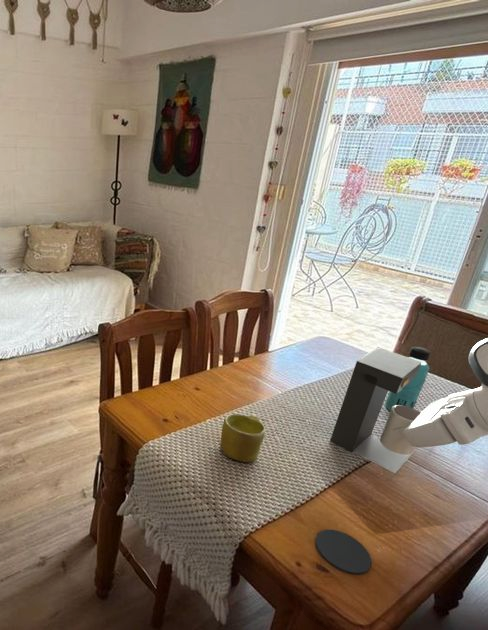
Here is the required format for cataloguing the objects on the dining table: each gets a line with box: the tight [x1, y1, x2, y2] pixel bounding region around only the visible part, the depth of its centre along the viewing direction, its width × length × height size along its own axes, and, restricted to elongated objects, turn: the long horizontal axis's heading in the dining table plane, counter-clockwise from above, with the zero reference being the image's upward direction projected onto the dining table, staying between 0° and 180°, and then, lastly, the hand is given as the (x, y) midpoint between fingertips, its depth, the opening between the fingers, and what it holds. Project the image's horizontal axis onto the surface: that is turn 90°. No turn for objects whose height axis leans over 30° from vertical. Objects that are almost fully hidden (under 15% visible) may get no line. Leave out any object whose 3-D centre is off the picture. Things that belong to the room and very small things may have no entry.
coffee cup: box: [380, 405, 421, 455], centre depth 100 cm, size 6×6×9 cm
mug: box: [220, 413, 266, 463], centre depth 105 cm, size 12×10×10 cm
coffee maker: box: [329, 346, 422, 475], centre depth 102 cm, size 14×12×24 cm
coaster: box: [314, 528, 372, 575], centre depth 81 cm, size 9×9×1 cm
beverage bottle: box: [384, 346, 431, 412], centre depth 118 cm, size 6×7×20 cm
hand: (399, 427), depth 100 cm, fingers closed on coffee cup, 6 cm apart
